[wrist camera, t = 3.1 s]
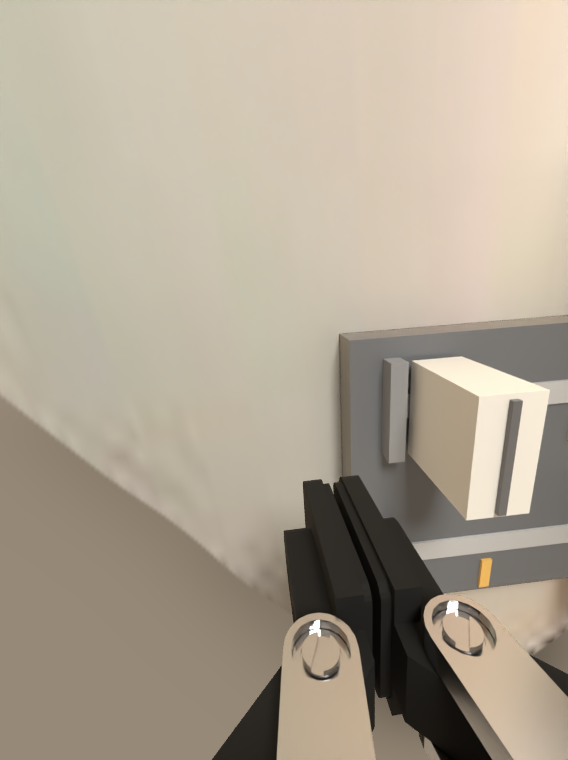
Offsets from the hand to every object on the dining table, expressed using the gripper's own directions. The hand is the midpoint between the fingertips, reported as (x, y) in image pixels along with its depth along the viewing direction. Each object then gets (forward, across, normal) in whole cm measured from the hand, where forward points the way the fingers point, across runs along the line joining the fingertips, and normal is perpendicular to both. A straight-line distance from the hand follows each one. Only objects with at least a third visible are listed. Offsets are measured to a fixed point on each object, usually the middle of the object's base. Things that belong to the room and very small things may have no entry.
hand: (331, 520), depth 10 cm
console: (+9, -13, +4) cm, 16 cm away
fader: (+6, -7, -1) cm, 9 cm away
